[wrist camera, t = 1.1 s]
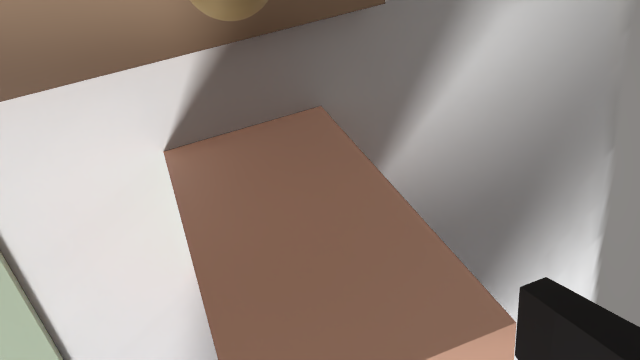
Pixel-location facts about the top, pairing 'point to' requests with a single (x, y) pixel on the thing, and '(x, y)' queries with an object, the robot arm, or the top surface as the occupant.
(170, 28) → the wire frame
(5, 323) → the mat
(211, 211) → the terracotta block
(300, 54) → the top surface
